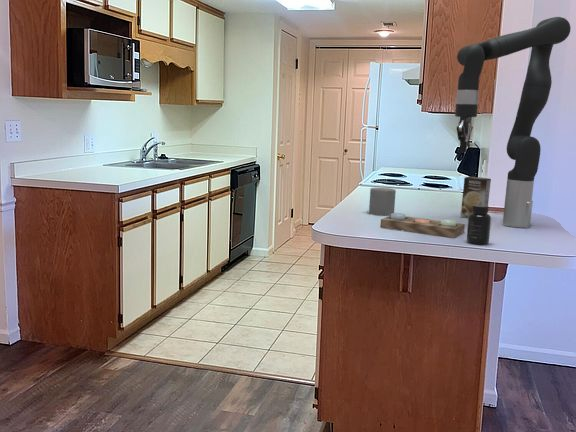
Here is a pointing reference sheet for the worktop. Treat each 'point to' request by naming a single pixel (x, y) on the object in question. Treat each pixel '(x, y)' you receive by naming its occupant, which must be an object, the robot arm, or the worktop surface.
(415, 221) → the terracotta button
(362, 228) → the worktop surface
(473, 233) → the supplement bottle
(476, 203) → the coffee box
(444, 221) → the sage button
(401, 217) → the slate button
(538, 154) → the robot arm
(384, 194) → the coffee mug
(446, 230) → the button panel
